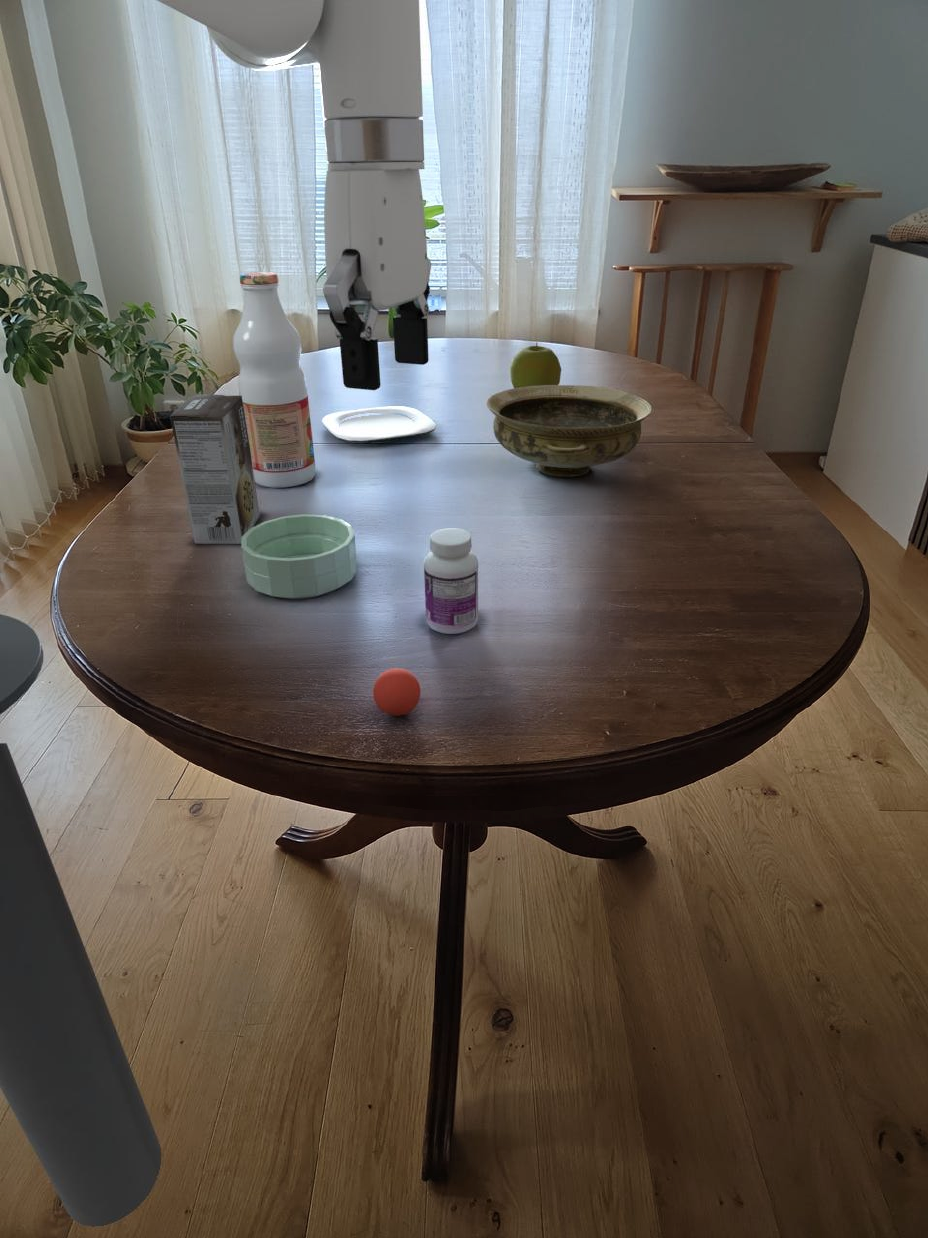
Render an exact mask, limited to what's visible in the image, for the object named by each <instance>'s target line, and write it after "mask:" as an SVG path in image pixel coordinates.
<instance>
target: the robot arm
mask: <svg viewBox="0 0 928 1238" xmlns="http://www.w3.org/2000/svg"><path fill="white" fill-rule="evenodd" d="M156 1H157V2H159V3H161V4H163V5H165V6H167V7H169V8H171V9H173V10H175V11H176V12H179V13H180V14H182V15H184V16H186V17H188V18H190V19H192V20H194V21H196V22H198V23H199V24H202V25H203V26H205V27H206V29H207V31H208V33H209V35H210V37H211V39H212V41H213V43H214V44H215V45H216V46H217V47H218V48H219V50H220V51H221V52H222V53H223V54H224V55H225V56H226V57H227V58H228V59H230V60H231V61H233V62H234V63H235V64H238V65H239V66H241V67H243V68H246V69H250V70H254V71H261V72H262V71H267V72H268V71H276V70H283V69H290V68H294V67H301V66H309V65H310V66H311V65H318V69H319V70H318V72H319V84H320V94H321V96H320V97H321V107H322V118H323V128H324V138H325V140H324V141H325V153H326V161H327V163H326V165H327V170H326V176H325V186H324V204H323V205H324V207H323V208H324V210H323V213H324V214H323V216H324V217H323V221H324V223H323V225H324V226H323V227H324V230H323V231H324V257H325V259H324V261H325V277H326V281H325V282H324V284H323V285H322V293H323V295H324V299H325V301H326V304H327V306H328V309H329V319H330V321H331V322H332V324H333V326H334V327H335V329H334V331H335V332H334V333H335V337H336V338H337V339H338V340H339V348H340V349H339V350H340V360H341V372H342V383H343V386H344V387H345V388H346V389H355V390H366V391H376V390H378V389H380V388H381V372H380V371H381V370H380V353H379V339H378V338H373V336H374V331H375V327H376V324H377V320H378V316H379V312H381V311H386V310H389V309H392V308H394V310H395V313H396V315H397V316H393V317H392V329H393V346H394V348H393V349H394V361H395V362H396V363H398V364H406V365H419V366H422V365H423V366H424V365H426V364H428V363H429V359H430V358H429V333H428V331H429V330H428V316H429V314H430V307H429V303H428V299H429V295H430V293H431V291H430V290H431V287H430V285H429V284H430V278H431V277H430V276H431V272H432V271H431V270H432V262H431V260H430V258H429V257H428V245H427V243H428V242H427V233H426V232H427V230H426V229H427V228H426V219H425V218H426V217H425V207H424V198H423V196H424V195H423V189H422V181H421V175H420V170H425V142H424V141H425V139H424V120H423V118H424V115H423V114H424V112H423V111H424V110H423V108H424V107H423V83H422V82H423V81H422V53H421V20H420V17H421V16H420V0H156ZM358 313H363V316H362V318H361V317H360V315H359V314H358Z"/></svg>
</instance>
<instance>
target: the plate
mask: <svg viewBox="0 0 928 1238" xmlns="http://www.w3.org/2000/svg"><path fill="white" fill-rule="evenodd" d="M365 413H401V414H404V415H407V416H408V417H410V418H412V419H410V418H408V417H405V416H401V415H394V414H381V415H369V416H361V417H355V418H351V419H347V420H344V421H342V422H341V423H340V421H341V420H343V419H345V418H347V417H350V416H354V415H358V414H365ZM413 420H414V421H413ZM321 423H322V425H323V427H324V428H325V429H326V430H327V431H328V433H330V434H331V435H332V436H333V437H335V438H336V439H338V440H339V441H343V442H347V443H361V444H375V443H376V444H377V443H386V442H395V441H400V440H401V441H402V440H406V439H409V438H413V437H417V436H424V435H426V434H429V433H432V432H434V431H436V429H437V424H436V423H435V422H434V420H433V419H431V418H430V417H429V416H427V415H426V414H424V413H423V412H421V411H419V410H418V409H416V408H413V407H408V406H401V405H400V406H396V405H393V406H378V407H369V408H360V409H353V410H346V411H338V412H334V413H330V414H326V415H325V416H324V417H323V418H322V419H321ZM339 423H340V427H339Z"/></svg>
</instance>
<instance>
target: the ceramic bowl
mask: <svg viewBox="0 0 928 1238" xmlns="http://www.w3.org/2000/svg"><path fill="white" fill-rule="evenodd" d="M486 406H487V408H488V409H489V411H490V412H491V413H492V414H493V415H494V417H493V418H494V419H493V423H492V428H493V429H492V430H493V434H494V437H495V439H496V440H497V442H498V443H499V444H500V445H501V446H502V448H504V449H505V450H506V451H508V452H510V453H511V454H513V455H514V456H515V457H518V458H520V459H522V460H524V461H527V462H530V463H534V464H536V469H537V470H538V471H539V472H541V473H542V474H546V475H548V476H549V475H550V476H553V477H562V478H563V477H564V478H566V477H567V478H568V477H569V478H570V477H579V476H582V475H585V474H588V473H589V472H590V467H594V466H595V467H596V466H599V465H603V464H607V463H611V462H613V461H616V460H619V459H620V458H622V457H624V456H626V455H627V454H629V453H630V452H631V451H632V450H634V448H635V447H636V446H637V445H638V443H639V441H640V439H641V435H642V422H643V421H644V420H645V419H647V418H648V417H649V416H650V414H651V413H652V411H653V410H652V409H653V408H652V406H651V404H650V403H649V402H648V401H647V400H645V399H643V398H641V397H640V396H636V395H634V394H631V393H628V392H626V391H623V390H619V389H615V388H611V387H605V386H595V385H575V384H574V385H573V384H571V385H570V384H559V385H540V386H527V387H519V388H514V387H513V388H509V389H506V390H502V391H500V392H497V393H495V394H492V395H491V396H490V397H489V398H487V400H486Z"/></svg>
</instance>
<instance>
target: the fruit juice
mask: <svg viewBox="0 0 928 1238" xmlns="http://www.w3.org/2000/svg"><path fill="white" fill-rule="evenodd" d="M239 283H240V287H241V289H242V290H243V294H244V295H243V296H244V297H243V306H242V312H241V318H240V321H239V324H238V325H237V328H236V329H235V331H234V334H233V337H232V347H233V348H232V349H233V352H234V355H235V357H236V360H237V362H238V365H239V374H238V377H237V386H238V396H242V401H243V407H244V413H245V420H246V426H247V433H248V439H249V445H250V452H251V458H252V466H253V473H254V479H255V484H257V485H259V486H261V487H265V488H274V489H275V488H276V489H277V488H278V489H279V488H291V487H297V486H301V485H303V484H306V483H309V482H310V481H312V480H313V479H314V478H315V476H316V460H315V450H314V441H313V431H312V423H311V411H310V403H309V402H310V401H309V393H308V385H307V379H306V375H305V373H304V371H303V369H302V367H301V357H302V348H303V347H302V341H301V337H300V334H299V332H298V330H297V329H296V327H295V326H294V325H293V324H292V322H291V321H290V320H289V319H288V317H287V314H286V313H285V310H284V308H283V305H282V303H281V301H280V298H279V294H278V288H279V286H280V285H279V276H278V274H277V273H276V272H272V271H271V272H270V271H255V272H254V271H253V272H243V273H241V274H240V275H239Z"/></svg>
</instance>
